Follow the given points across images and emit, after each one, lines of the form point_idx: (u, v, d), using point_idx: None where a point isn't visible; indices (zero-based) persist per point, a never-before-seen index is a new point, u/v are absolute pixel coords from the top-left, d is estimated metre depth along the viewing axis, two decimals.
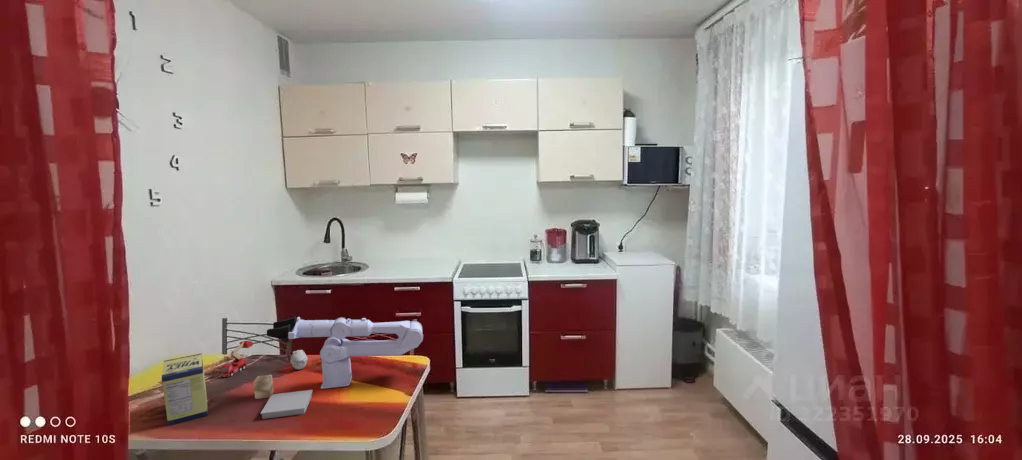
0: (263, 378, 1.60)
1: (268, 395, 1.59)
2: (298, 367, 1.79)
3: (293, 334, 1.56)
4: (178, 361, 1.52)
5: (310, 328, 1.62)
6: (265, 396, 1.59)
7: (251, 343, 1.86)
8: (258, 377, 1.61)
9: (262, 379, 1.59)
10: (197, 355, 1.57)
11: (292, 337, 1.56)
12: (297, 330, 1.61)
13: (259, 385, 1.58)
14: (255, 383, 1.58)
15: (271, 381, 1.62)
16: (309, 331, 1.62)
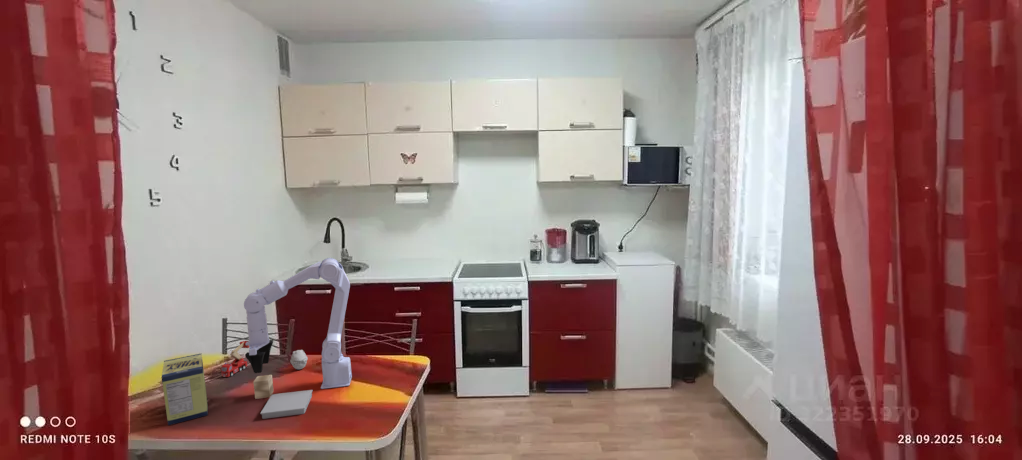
0: (263, 378, 1.60)
1: (268, 395, 1.59)
2: (298, 367, 1.79)
3: (250, 350, 1.51)
4: (178, 361, 1.52)
5: (252, 332, 1.55)
6: (265, 396, 1.59)
7: None
8: (258, 377, 1.61)
9: (262, 379, 1.59)
10: (197, 355, 1.57)
11: (254, 351, 1.52)
12: (254, 344, 1.55)
13: (259, 385, 1.58)
14: (255, 383, 1.58)
15: (271, 381, 1.62)
16: (255, 333, 1.55)
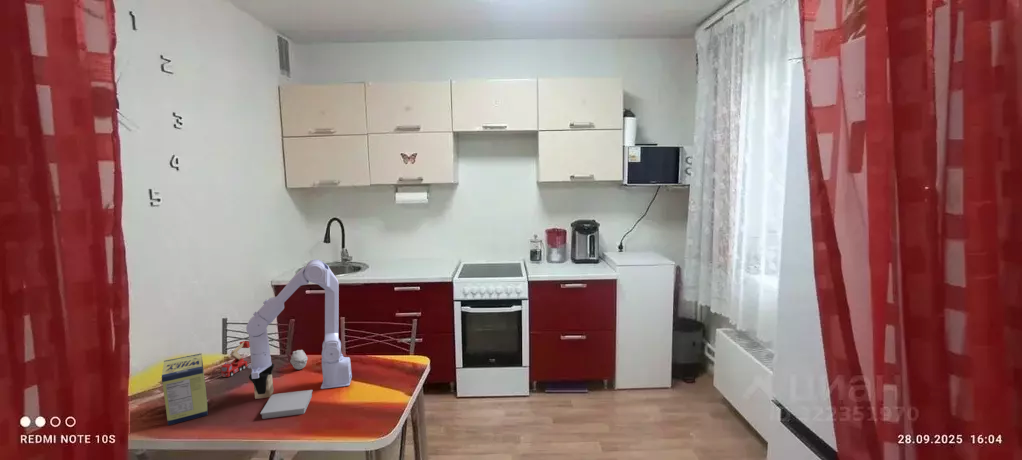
0: None
1: (268, 395, 1.59)
2: (298, 367, 1.79)
3: (253, 374, 1.52)
4: (178, 361, 1.52)
5: (254, 355, 1.56)
6: (265, 396, 1.59)
7: None
8: None
9: None
10: (197, 355, 1.57)
11: (256, 374, 1.53)
12: (257, 367, 1.56)
13: None
14: None
15: (271, 381, 1.62)
16: (257, 356, 1.56)
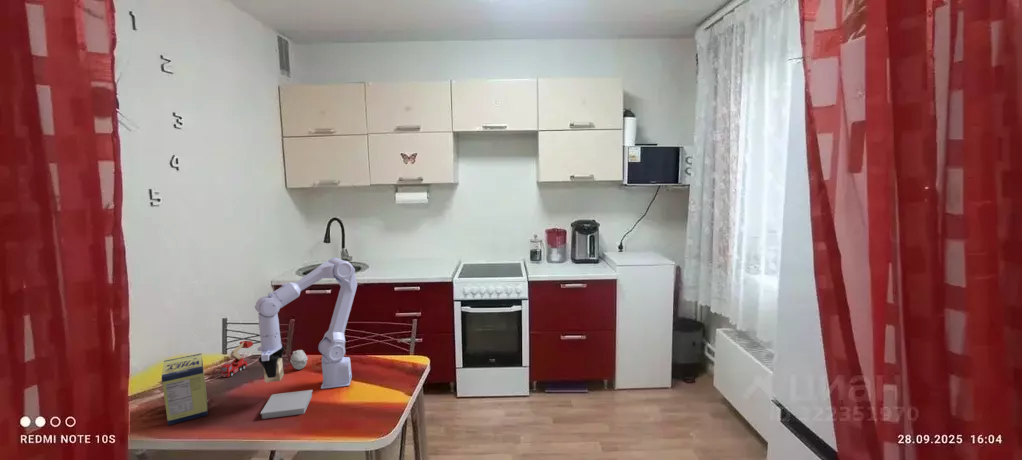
0: None
1: (278, 378, 1.53)
2: (298, 367, 1.79)
3: (262, 356, 1.47)
4: (178, 361, 1.52)
5: (264, 337, 1.51)
6: (275, 380, 1.53)
7: (251, 343, 1.86)
8: None
9: None
10: (197, 355, 1.57)
11: (266, 356, 1.47)
12: (267, 350, 1.51)
13: None
14: None
15: (281, 364, 1.56)
16: (267, 338, 1.51)
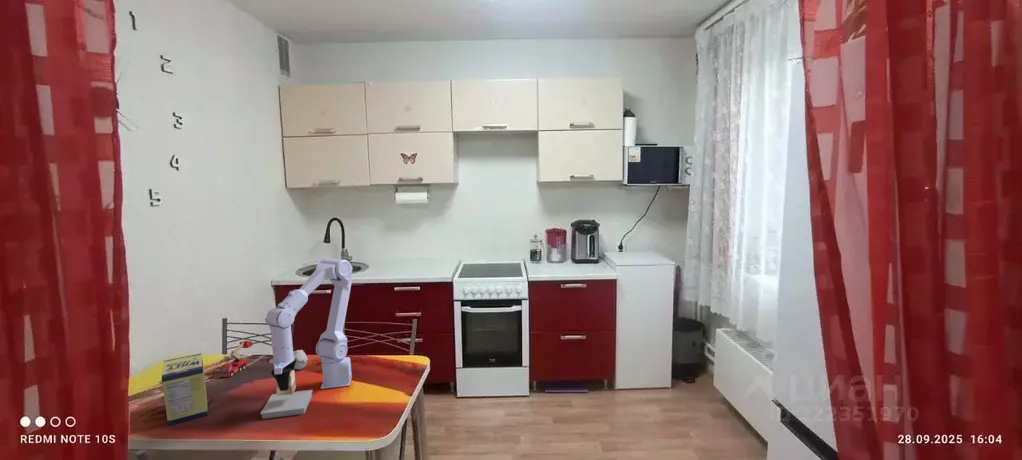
0: None
1: (291, 392, 1.50)
2: (298, 367, 1.79)
3: (275, 369, 1.43)
4: (178, 361, 1.52)
5: (277, 350, 1.47)
6: (287, 393, 1.50)
7: (251, 343, 1.86)
8: None
9: None
10: (197, 355, 1.57)
11: (279, 369, 1.43)
12: (279, 362, 1.47)
13: None
14: None
15: (293, 377, 1.53)
16: (280, 350, 1.47)
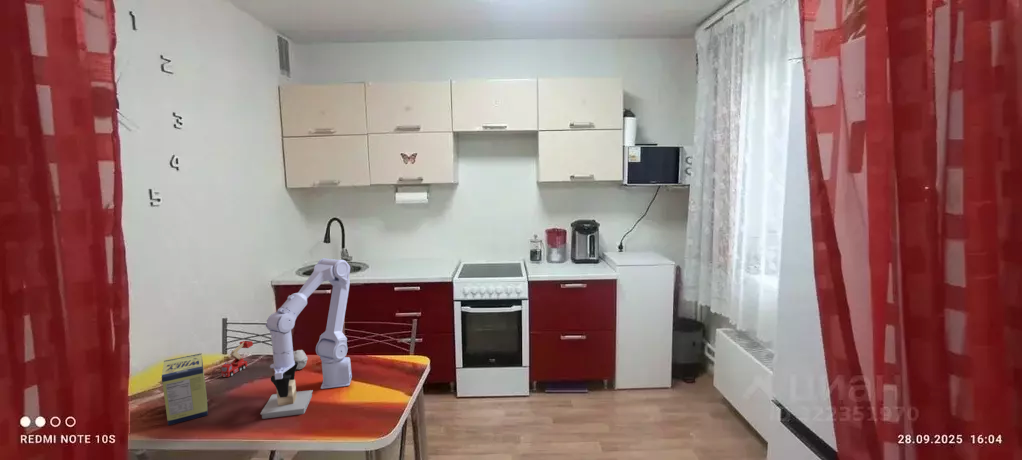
0: None
1: (291, 401, 1.50)
2: (298, 367, 1.79)
3: (276, 374, 1.43)
4: (178, 361, 1.52)
5: (277, 354, 1.47)
6: (288, 402, 1.50)
7: (251, 343, 1.86)
8: None
9: None
10: (197, 355, 1.57)
11: (280, 375, 1.44)
12: (280, 367, 1.47)
13: None
14: None
15: (294, 386, 1.53)
16: (280, 355, 1.47)
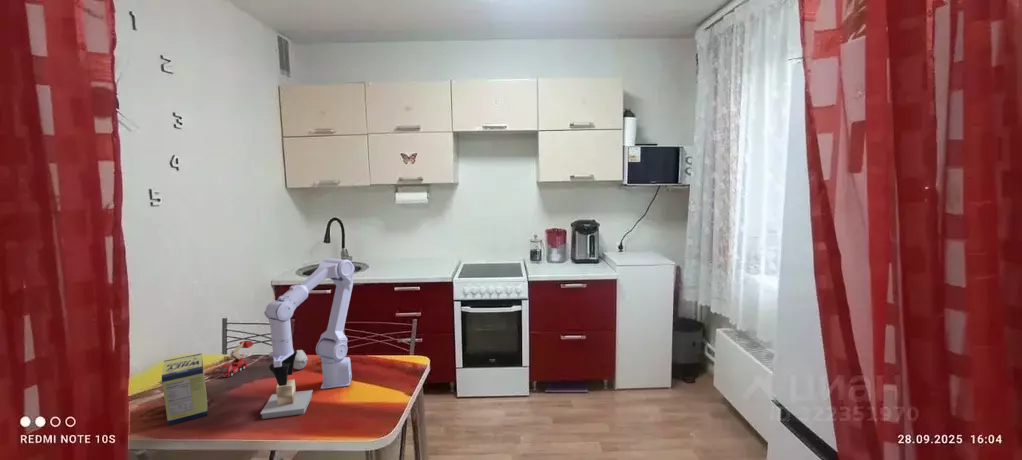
0: None
1: (291, 401, 1.50)
2: (298, 367, 1.79)
3: (275, 362, 1.43)
4: (178, 361, 1.52)
5: (276, 343, 1.47)
6: (288, 402, 1.50)
7: (251, 343, 1.86)
8: None
9: (285, 385, 1.50)
10: (197, 355, 1.57)
11: (279, 362, 1.43)
12: (279, 355, 1.47)
13: (282, 390, 1.49)
14: (278, 389, 1.49)
15: (294, 386, 1.53)
16: (279, 343, 1.47)
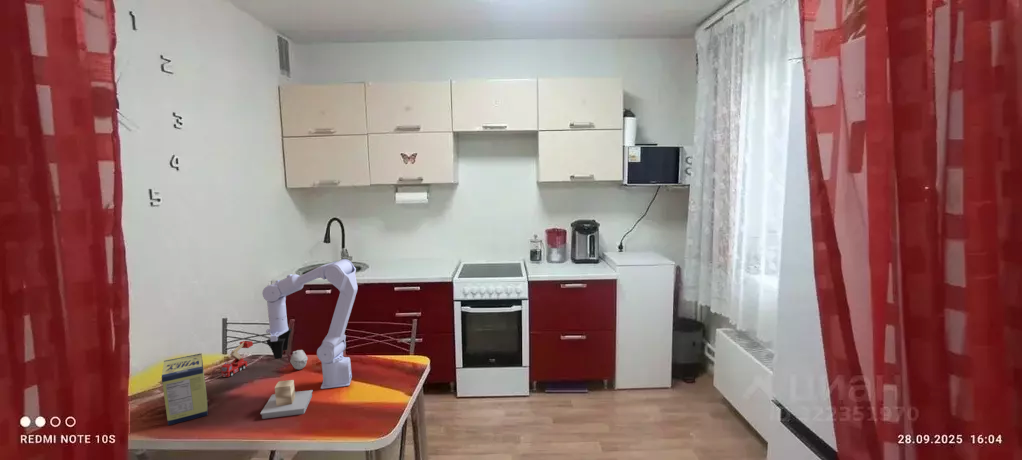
0: (285, 383, 1.51)
1: (290, 402, 1.50)
2: (298, 367, 1.79)
3: (271, 337, 1.61)
4: (178, 361, 1.52)
5: (272, 320, 1.65)
6: (287, 403, 1.50)
7: (251, 343, 1.86)
8: (279, 382, 1.52)
9: (284, 385, 1.50)
10: (197, 355, 1.57)
11: (275, 337, 1.61)
12: (275, 331, 1.65)
13: (280, 391, 1.49)
14: (276, 389, 1.49)
15: (293, 387, 1.53)
16: (275, 321, 1.65)
